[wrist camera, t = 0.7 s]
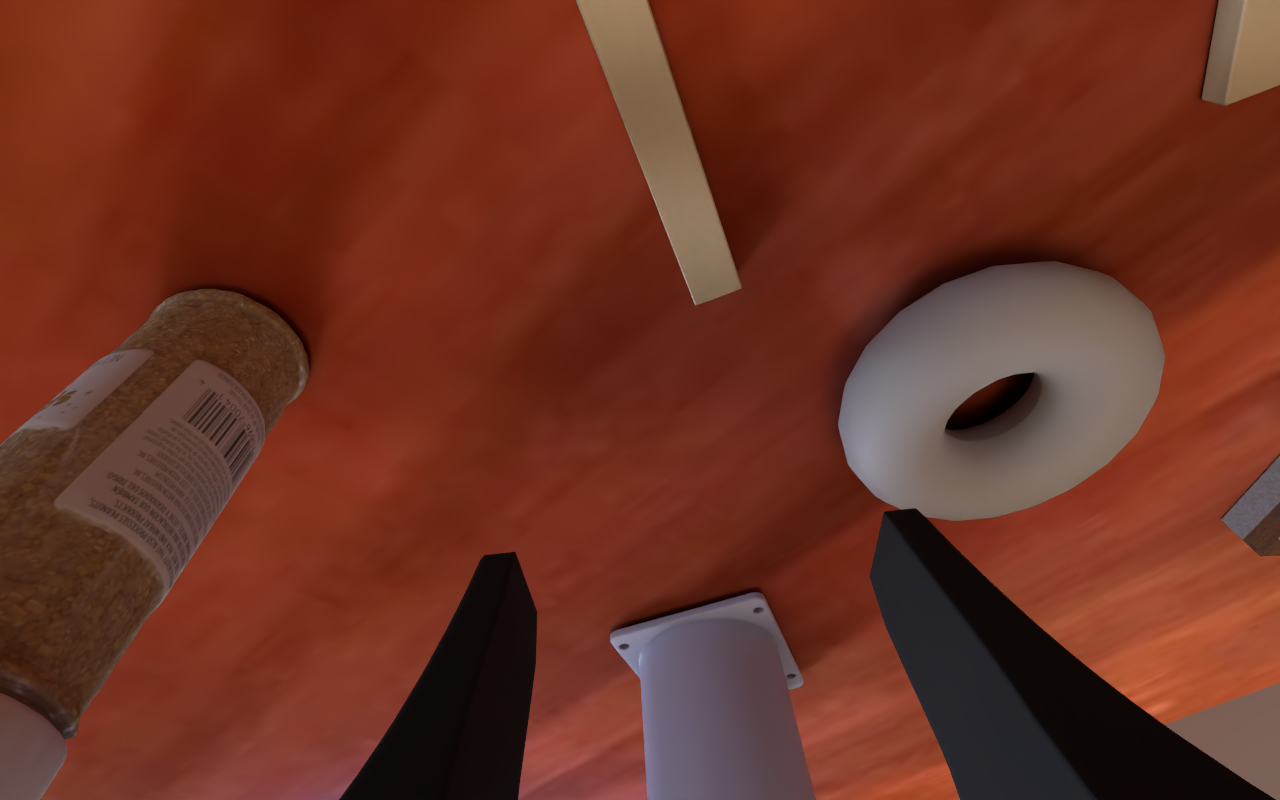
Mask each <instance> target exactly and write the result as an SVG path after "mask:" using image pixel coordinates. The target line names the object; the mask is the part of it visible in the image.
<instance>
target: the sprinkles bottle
mask: <svg viewBox="0 0 1280 800" xmlns="http://www.w3.org/2000/svg"><path fill="white" fill-rule="evenodd" d="M308 375H309V363H308V357H307V353H306V352H305V350H304V347H303V344H302V342H301V341H300V339H299V337H298V336H297V335H296V334H295V332H294V331H293V330H292V328H291V327H290V326H289V324H288V323H287V322H285V321H284V320H283V319H282V318H281V317H280V316H279V315H278V314H276V313H275V312H274V311H272V310H271V309H269V308H268V307H266V306H264V305H262V304H260V303H258V302H256V301H254V300H252V299H250V298H248V297H246V296H243V295H241V294H239V293H236V292H233V291H224V290H219V289H199V290H193V291H186V292H181V293H178V294H176V295H173V296H171V297H169V298H167V299H166V300H165V301H164V302H163V303H161V304H160V305H158V306H157V307H156V309H155V310H154V311H153V312H152V313H151V315H150V317H149V319H148V321H147V322H146V323H145V324H144V325H143V326H141V327H140V328H139V329H138V330H137V331H136V332H135V333H133V334H132V335H131V336H130V337H129V338H127V339H126V340H125V341H124V342H123V343H122V344H121V345H120V346H119V347H118V348H117V349H115V350H114V351H113V352H112V353H110V354H109V355H108V356H105V357H103V358H102V359H100V360H98V361H97V362H96V363H94V364H93V365H92V366H91V367H90V368H89V369H87V370H86V371H85V372H84V373H83V374H82V375H80V376H79V377H78V378H77V379H76V380H75V381H73V382H72V383H71V384H70V385H69V386H68V387H66V388H65V389H64V390H63V391H62V392H61V393H59V394H58V395H57V396H56V397H55V398H54V399H52V400H51V401H50V402H49V403H48V404H47V405H46V406H44V407H43V408H42V409H41V410H40V411H39V412H38V413H36V414H35V415H34V416H33V417H32V418H31V419H29V420H28V421H27V422H26V423H25V424H24V425H22V426H21V427H20V428H19V429H18V430H17V431H16V432H14V433H13V434H12V435H11V436H10V437H9V438H8V439H7V440H5V441H4V442H3V443H2V444H1V445H0V800H40V799H41V797H42V796H43V794H44V793H45V791H46V789H47V788H48V786H49V785H50V783H51V782H52V780H53V779H54V777H55V776H56V774H57V772H58V771H59V769H60V768H61V766H62V764H63V763H64V761H65V758H66V756H67V747H66V741H65V739H66V738H72V737H74V736H75V735H76V734H77V732H78V725H79V722H80V716H81V715H82V714H83V712H84V711H85V710H86V709H87V707H88V706H89V704H90V702H91V700H92V699H93V698H94V697H95V696H96V695H97V693H98V692H99V691H100V689H101V688H102V686H103V684H104V683H105V681H106V679H107V678H108V676H109V675H110V673H111V672H112V670H113V669H114V667H115V666H116V664H117V662H118V661H119V659H120V657H121V656H122V655H123V654H124V653H125V652H126V650H127V648H128V646H129V644H130V642H131V641H132V640H133V639H134V638H135V636H136V635H137V633H138V632H139V630H140V628H141V627H142V625H143V624H144V622H145V620H146V619H147V618H148V617H149V616H150V614H151V613H152V612H153V611H154V610H155V609H157V608H158V606H159V605H160V604H161V602H162V601H163V600H164V598H165V597H166V595H167V594H168V592H169V591H170V589H171V587H172V586H173V584H174V583H175V581H176V580H177V578H178V577H179V575H180V574H181V572H182V571H183V569H184V568H185V566H186V565H187V563H188V562H189V560H190V559H191V557H192V556H193V554H194V553H195V551H196V550H197V548H198V547H199V545H200V544H201V542H202V541H203V539H204V537H205V536H206V534H207V533H208V531H209V530H210V528H211V527H212V525H213V524H214V522H215V521H216V519H217V518H218V516H219V514H220V513H221V511H222V510H223V508H224V507H225V505H226V504H227V502H228V501H229V499H230V497H231V496H232V494H233V493H234V491H235V490H236V488H237V487H238V485H239V484H240V482H241V481H242V479H243V477H244V476H245V474H246V473H247V471H248V470H249V468H250V467H251V465H252V464H253V462H254V460H255V459H256V457H257V456H258V454H259V453H260V451H261V449H262V446H263V444H264V441H265V438H266V436H267V435H268V433H269V432H270V430H271V429H272V428H273V427H274V425H275V423H276V421H277V420H278V419H279V418H280V416H281V414H282V412H283V410H284V409H285V407H286V406H287V404H288V403H291V402H292V401H293V400H294V399H296V398H297V397H298V396H299V394H300V393H301V392H302V390H303V389H304V387H305V385H306V382H307V380H308Z"/></svg>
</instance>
